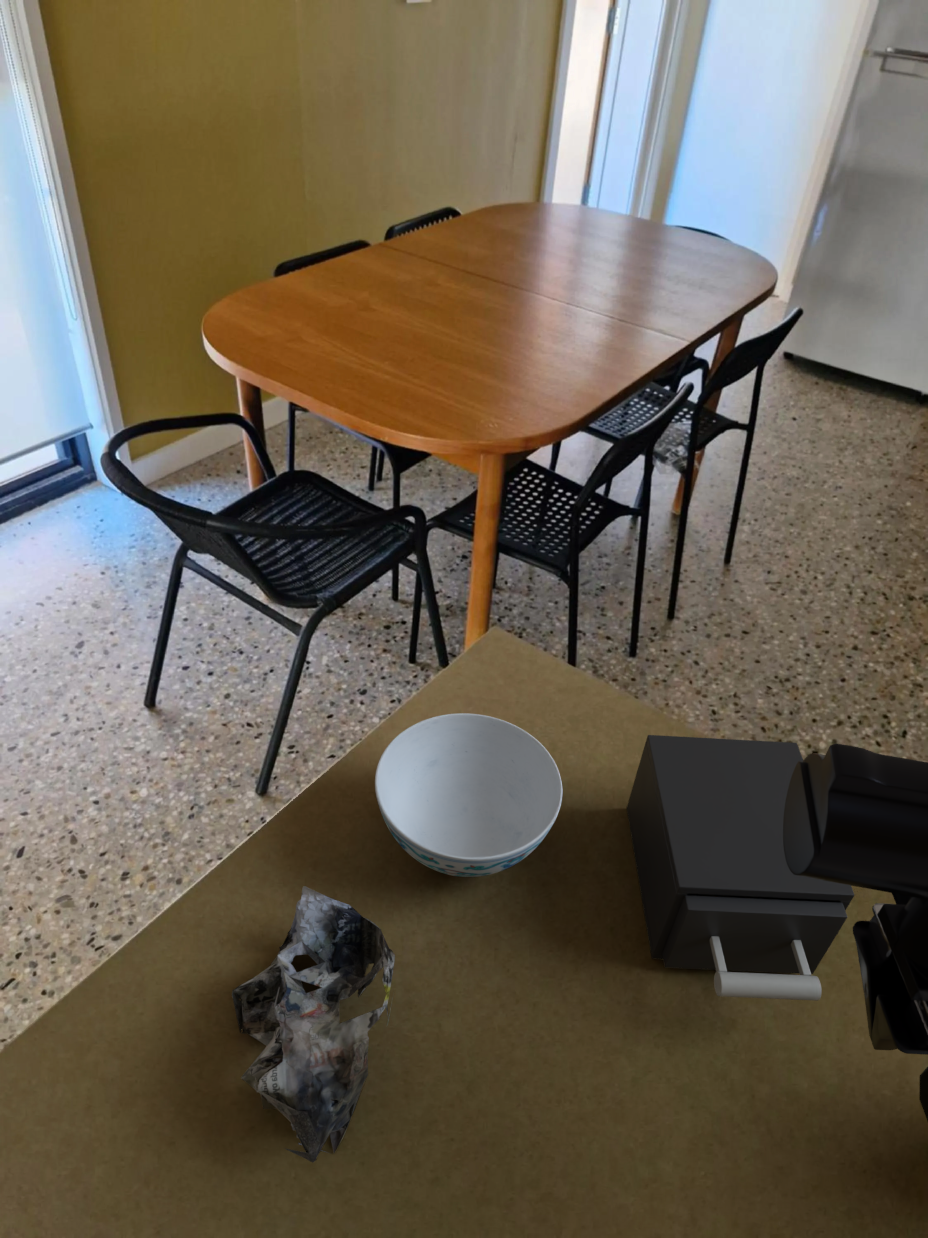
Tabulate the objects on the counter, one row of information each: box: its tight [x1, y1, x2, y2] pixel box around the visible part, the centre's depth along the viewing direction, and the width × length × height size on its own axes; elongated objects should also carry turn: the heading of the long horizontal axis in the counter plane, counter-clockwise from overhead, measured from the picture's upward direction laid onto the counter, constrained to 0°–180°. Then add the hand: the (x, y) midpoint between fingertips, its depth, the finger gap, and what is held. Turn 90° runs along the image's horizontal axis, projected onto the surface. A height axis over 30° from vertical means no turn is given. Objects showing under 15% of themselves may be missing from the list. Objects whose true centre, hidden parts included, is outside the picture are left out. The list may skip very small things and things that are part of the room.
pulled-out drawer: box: [662, 894, 848, 1001], centre depth 68 cm, size 18×11×8 cm, turn 179°
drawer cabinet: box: [626, 734, 855, 960], centre depth 71 cm, size 15×13×10 cm
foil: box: [231, 885, 396, 1163], centre depth 60 cm, size 12×11×15 cm
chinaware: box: [374, 712, 563, 878], centre depth 73 cm, size 15×15×8 cm
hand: (880, 1044), depth 52 cm, fingers closed
